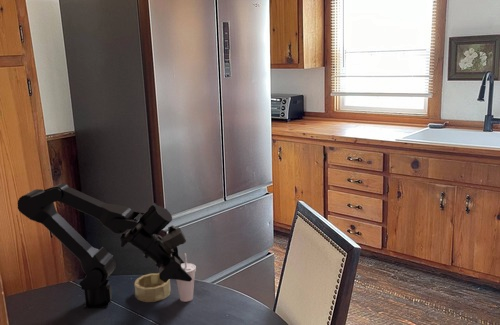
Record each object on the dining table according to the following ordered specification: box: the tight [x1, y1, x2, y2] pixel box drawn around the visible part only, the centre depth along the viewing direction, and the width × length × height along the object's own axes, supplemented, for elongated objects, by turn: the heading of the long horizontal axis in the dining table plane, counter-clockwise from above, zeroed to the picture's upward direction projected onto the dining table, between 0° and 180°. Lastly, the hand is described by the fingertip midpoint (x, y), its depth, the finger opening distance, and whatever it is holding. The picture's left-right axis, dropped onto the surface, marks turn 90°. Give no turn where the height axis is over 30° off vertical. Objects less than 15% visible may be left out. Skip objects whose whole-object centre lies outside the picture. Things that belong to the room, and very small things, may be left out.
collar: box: [134, 272, 171, 303], centre depth 139 cm, size 10×10×4 cm
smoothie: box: [175, 252, 197, 303], centre depth 135 cm, size 6×6×14 cm
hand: (189, 275), depth 135 cm, fingers closed on smoothie, 6 cm apart
